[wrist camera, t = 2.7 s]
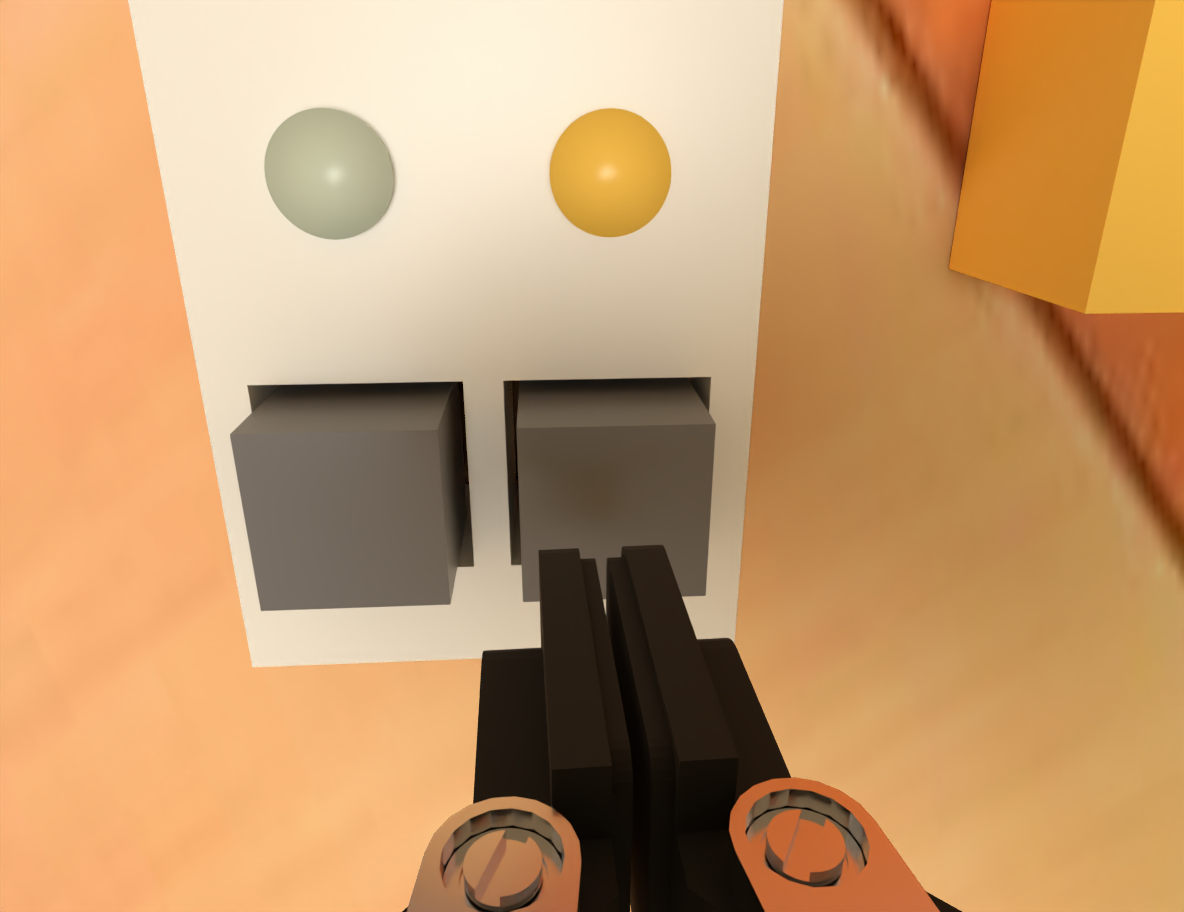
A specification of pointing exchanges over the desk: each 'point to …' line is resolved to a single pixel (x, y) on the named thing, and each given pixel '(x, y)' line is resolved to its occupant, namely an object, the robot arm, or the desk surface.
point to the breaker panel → (466, 242)
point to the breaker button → (353, 494)
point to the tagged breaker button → (615, 473)
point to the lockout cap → (1078, 156)
